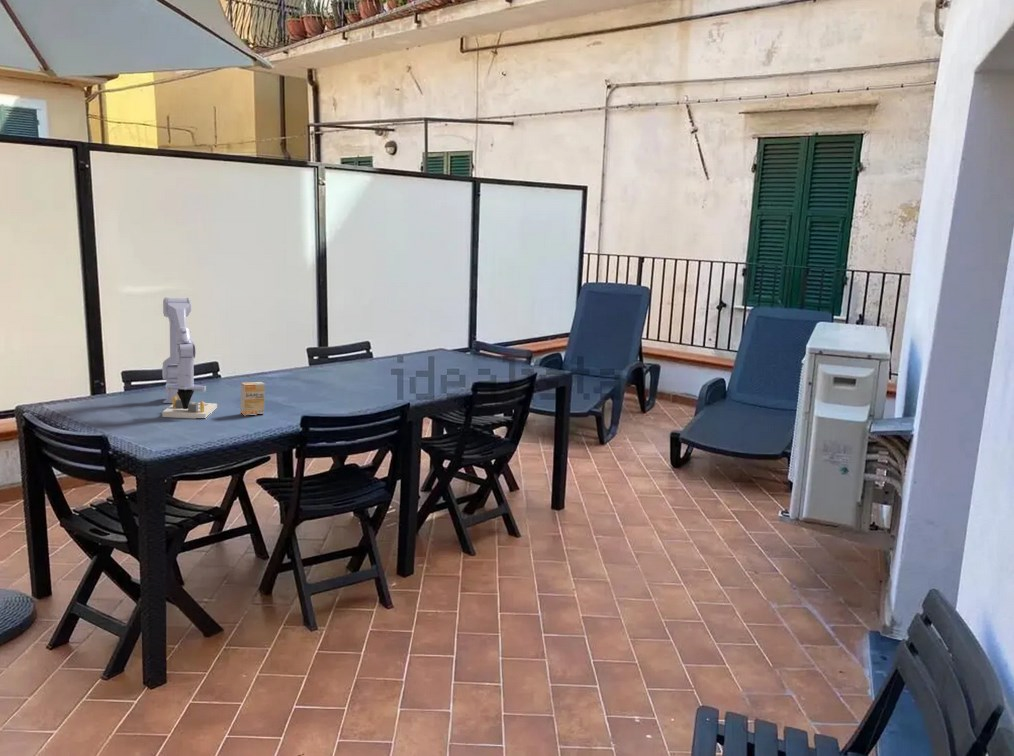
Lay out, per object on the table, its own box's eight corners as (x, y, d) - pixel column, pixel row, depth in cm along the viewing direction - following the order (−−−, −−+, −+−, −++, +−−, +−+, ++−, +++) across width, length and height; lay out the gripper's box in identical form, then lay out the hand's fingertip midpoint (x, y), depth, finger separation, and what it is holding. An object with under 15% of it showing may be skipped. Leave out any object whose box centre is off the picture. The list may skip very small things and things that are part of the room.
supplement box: (243, 416, 298) (244, 384, 296) (240, 414, 302) (240, 382, 300) (264, 415, 303) (265, 383, 301) (260, 412, 307) (261, 381, 304)
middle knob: (178, 405, 299) (178, 397, 298) (186, 406, 299) (186, 397, 298) (176, 407, 296) (176, 399, 295) (184, 408, 296) (184, 399, 295)
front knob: (190, 409, 294) (190, 401, 293) (198, 410, 294) (198, 401, 294) (188, 411, 291) (187, 403, 290) (196, 412, 292) (196, 403, 291)
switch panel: (176, 406, 305) (176, 392, 304) (217, 408, 307) (217, 394, 306) (162, 416, 289) (162, 401, 288) (205, 418, 291) (205, 403, 290)
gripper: (162, 375, 285) (162, 409, 287) (202, 377, 287) (202, 411, 289) (168, 371, 292) (168, 405, 294) (207, 373, 293) (207, 407, 296)
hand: (185, 408), depth 292 cm, fingers closed
